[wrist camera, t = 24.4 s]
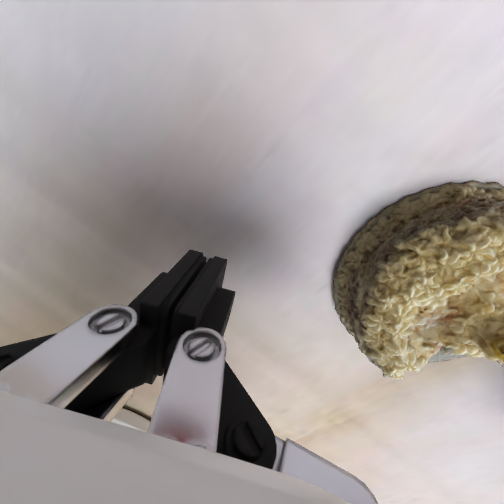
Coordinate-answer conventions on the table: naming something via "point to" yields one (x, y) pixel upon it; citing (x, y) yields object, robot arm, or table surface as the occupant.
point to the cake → (427, 279)
